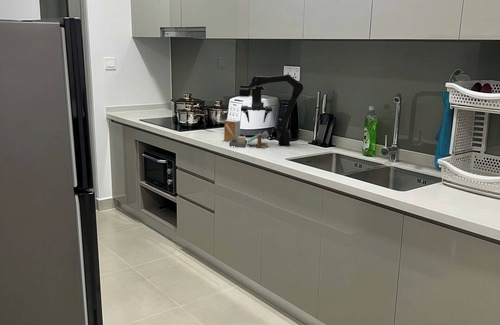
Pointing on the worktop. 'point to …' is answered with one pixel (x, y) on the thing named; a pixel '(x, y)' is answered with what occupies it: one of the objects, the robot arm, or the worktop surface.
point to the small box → (231, 130)
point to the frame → (259, 144)
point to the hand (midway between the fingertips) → (256, 122)
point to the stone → (241, 139)
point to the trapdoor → (263, 135)
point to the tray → (234, 143)
